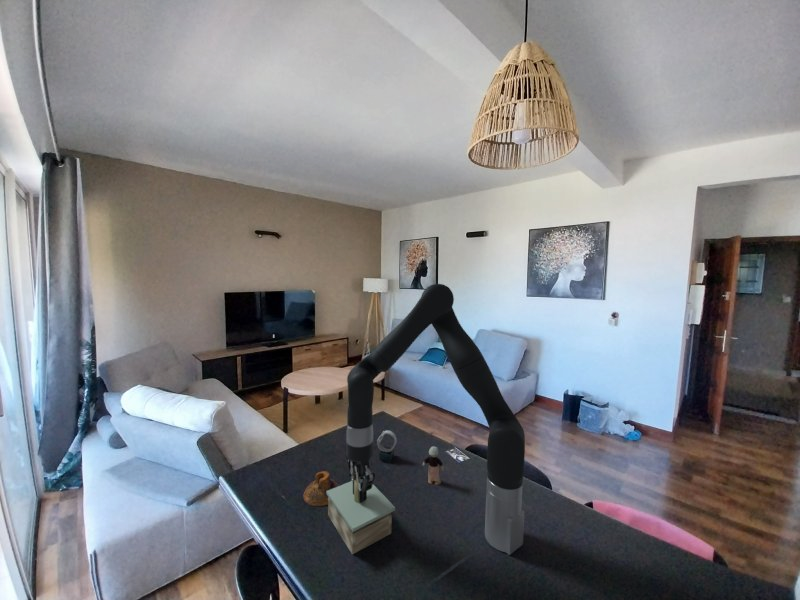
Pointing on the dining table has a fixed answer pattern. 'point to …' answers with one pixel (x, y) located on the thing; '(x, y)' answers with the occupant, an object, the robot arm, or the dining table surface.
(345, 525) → the box
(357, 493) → the lid
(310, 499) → the brown rounded piece
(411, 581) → the dining table surface
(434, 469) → the grandmother figurine
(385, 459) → the watch
